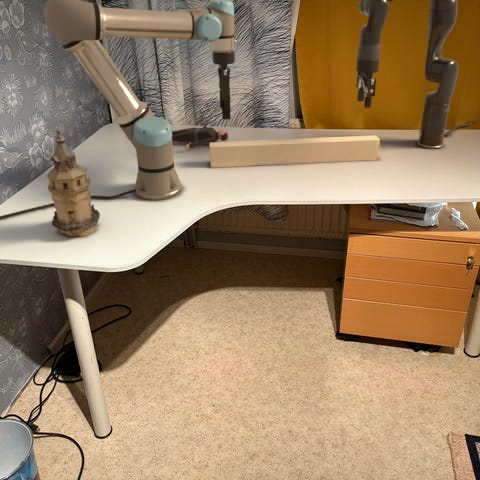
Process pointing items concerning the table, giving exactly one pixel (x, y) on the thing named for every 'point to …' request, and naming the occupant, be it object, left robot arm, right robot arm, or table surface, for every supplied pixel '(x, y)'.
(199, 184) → the table surface
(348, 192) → the table surface
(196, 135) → the toy
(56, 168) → the miniature building
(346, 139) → the beam
